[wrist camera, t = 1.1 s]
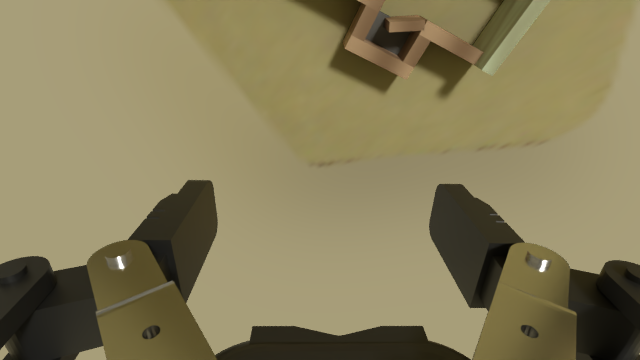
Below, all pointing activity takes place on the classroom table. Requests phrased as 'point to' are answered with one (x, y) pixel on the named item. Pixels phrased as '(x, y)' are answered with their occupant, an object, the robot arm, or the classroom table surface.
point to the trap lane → (436, 36)
